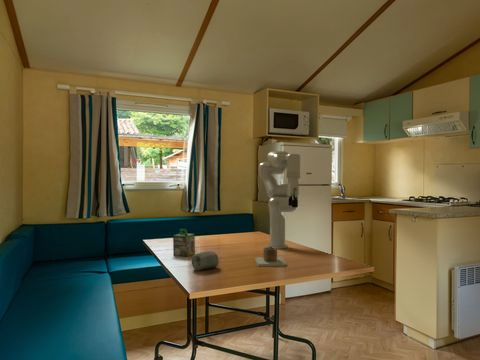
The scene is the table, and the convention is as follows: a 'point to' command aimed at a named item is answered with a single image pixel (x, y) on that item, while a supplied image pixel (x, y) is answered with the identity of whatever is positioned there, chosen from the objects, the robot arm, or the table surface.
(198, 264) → the grey green cylinder
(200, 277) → the table surface
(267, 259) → the collar
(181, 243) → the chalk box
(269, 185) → the robot arm
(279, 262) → the post board
